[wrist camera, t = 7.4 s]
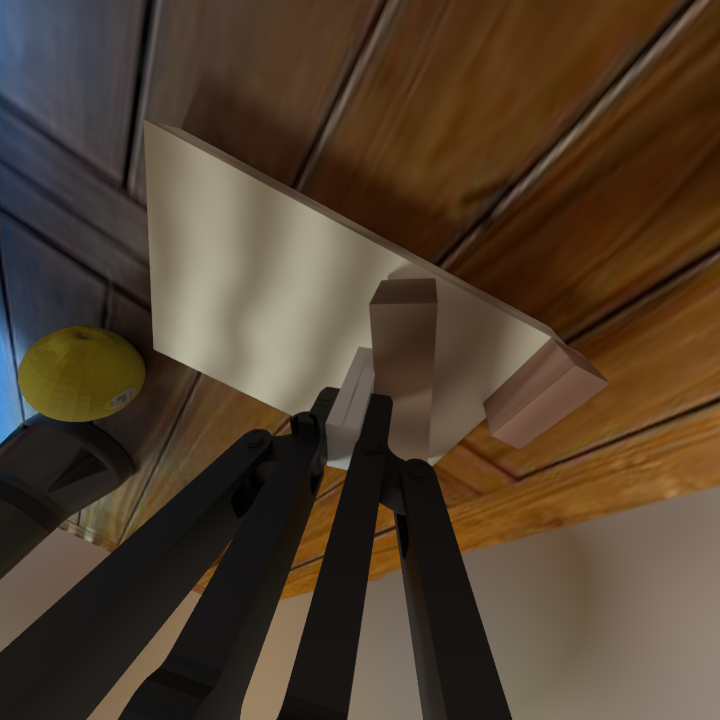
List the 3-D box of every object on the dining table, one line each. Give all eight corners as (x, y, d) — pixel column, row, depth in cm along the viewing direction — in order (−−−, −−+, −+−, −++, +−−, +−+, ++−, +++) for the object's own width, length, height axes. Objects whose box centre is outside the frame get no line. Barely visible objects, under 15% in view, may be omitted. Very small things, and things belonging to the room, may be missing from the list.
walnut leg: (425, 461, 23) (424, 516, 19) (390, 457, 23) (382, 509, 20) (435, 278, 15) (438, 308, 11) (381, 280, 15) (366, 309, 11)
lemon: (148, 398, 31) (73, 454, 24) (84, 352, 29) (-17, 400, 22) (182, 349, 26) (97, 404, 19) (107, 289, 24) (-18, 326, 17)
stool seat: (176, 336, 25) (120, 368, 20) (180, 128, 16) (81, 102, 11) (429, 459, 26) (429, 514, 22) (562, 333, 17) (610, 383, 13)
